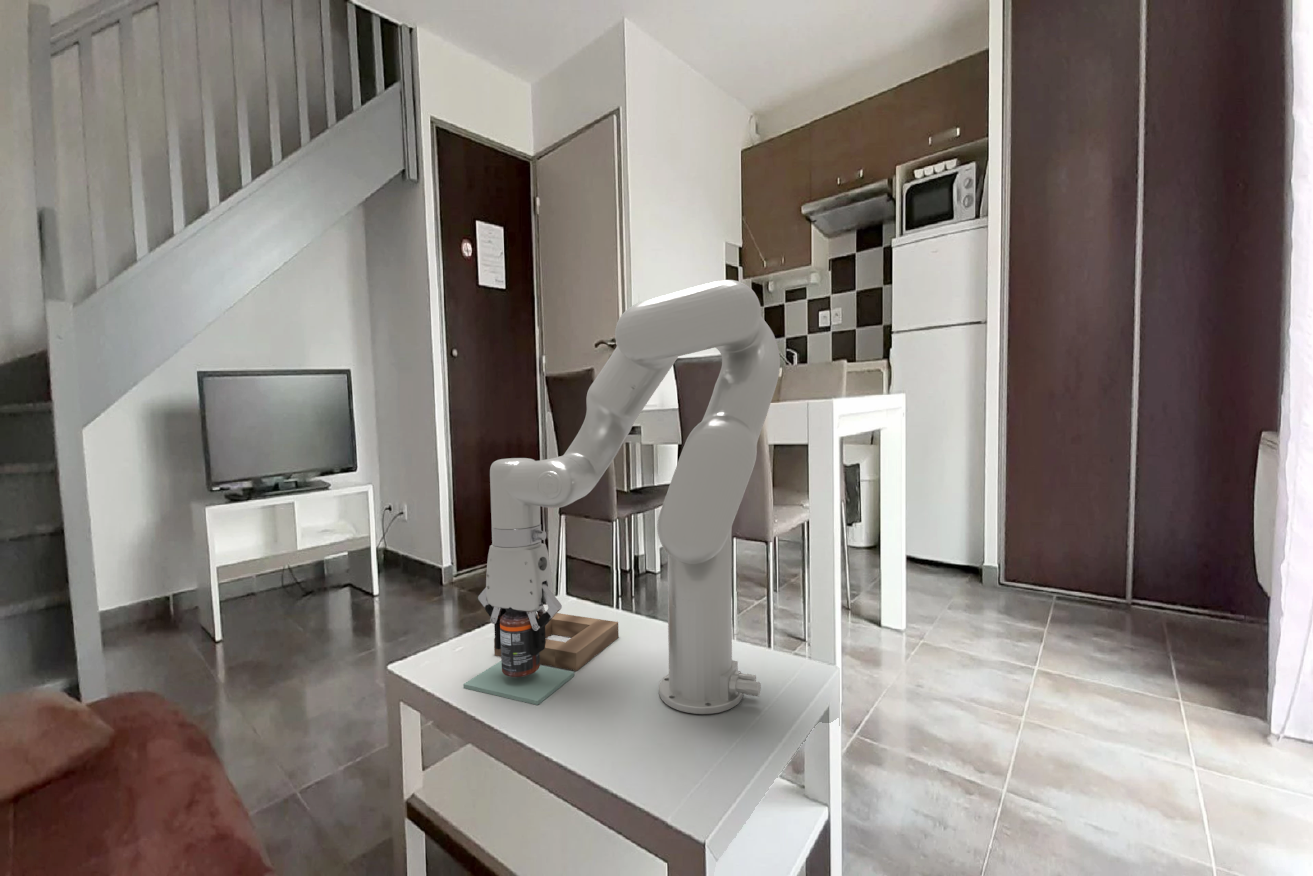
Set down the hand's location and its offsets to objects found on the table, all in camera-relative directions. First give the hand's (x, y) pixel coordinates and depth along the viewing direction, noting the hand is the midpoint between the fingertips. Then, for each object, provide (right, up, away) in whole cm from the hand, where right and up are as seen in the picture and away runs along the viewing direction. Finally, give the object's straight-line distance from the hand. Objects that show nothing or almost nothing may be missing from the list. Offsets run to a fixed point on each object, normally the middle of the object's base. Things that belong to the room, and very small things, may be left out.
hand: (520, 648), depth 88 cm
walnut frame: (+4, -5, +14) cm, 15 cm away
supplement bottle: (0, -4, 0) cm, 4 cm away
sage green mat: (0, -5, 0) cm, 5 cm away
